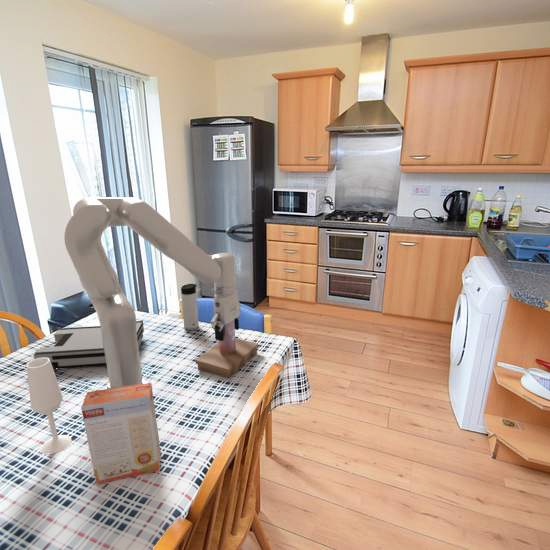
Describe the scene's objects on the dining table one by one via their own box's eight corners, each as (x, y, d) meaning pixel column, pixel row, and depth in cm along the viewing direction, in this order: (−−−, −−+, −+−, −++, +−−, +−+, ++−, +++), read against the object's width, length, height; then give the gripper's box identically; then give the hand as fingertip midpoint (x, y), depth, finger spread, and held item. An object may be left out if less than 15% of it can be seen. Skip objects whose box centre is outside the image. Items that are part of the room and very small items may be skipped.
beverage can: (227, 345, 135) (225, 308, 130) (239, 350, 131) (237, 312, 127) (215, 352, 130) (213, 313, 126) (227, 357, 127) (224, 318, 122)
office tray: (62, 344, 146) (59, 325, 143) (145, 339, 150) (142, 320, 147) (37, 372, 126) (32, 351, 123) (133, 365, 130) (130, 345, 127)
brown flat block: (229, 380, 120) (229, 369, 119) (196, 369, 126) (195, 359, 125) (258, 353, 137) (258, 343, 136) (228, 345, 144) (227, 336, 142)
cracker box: (161, 453, 90) (152, 380, 84) (160, 472, 85) (150, 396, 79) (100, 464, 87) (86, 389, 81) (95, 484, 82) (80, 406, 75)
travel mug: (197, 331, 156) (194, 287, 150) (182, 331, 156) (178, 287, 150) (201, 324, 161) (197, 282, 155) (186, 324, 162) (182, 282, 156)
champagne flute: (43, 439, 95) (24, 358, 88) (72, 432, 98) (56, 353, 90) (39, 457, 89) (18, 372, 82) (70, 449, 92) (52, 366, 85)
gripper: (219, 299, 115) (222, 347, 120) (247, 283, 129) (248, 326, 135) (200, 295, 118) (203, 342, 123) (230, 280, 133) (232, 323, 138)
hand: (227, 334), depth 129 cm, fingers open, 9 cm apart
